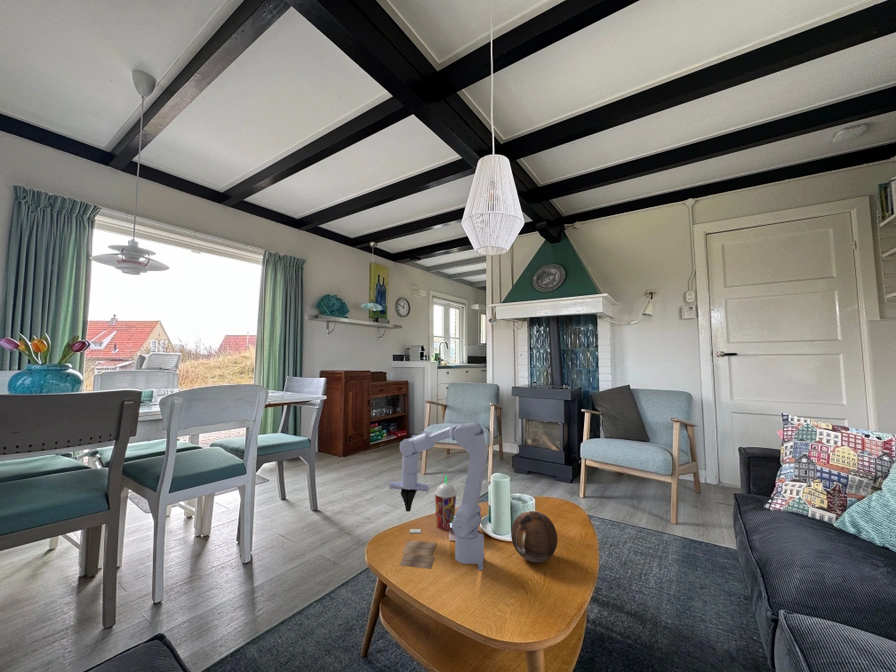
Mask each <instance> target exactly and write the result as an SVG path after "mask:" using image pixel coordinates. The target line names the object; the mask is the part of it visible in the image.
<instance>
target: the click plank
mask: <svg viewBox="0 0 896 672" xmlns="http://www.w3.org/2000/svg"><path fill="white" fill-rule="evenodd" d="M436 545H437V542H432V541H431V542H430V541H419V540H410V539H409V540H407V541H406V544H405V546H404V548H403V550H402V552H401V553H402V554H413V555H423V556H434V555H433V554H434V551H435V548H436Z"/></svg>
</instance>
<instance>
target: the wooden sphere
mask: <svg viewBox="0 0 896 672" xmlns="http://www.w3.org/2000/svg"><path fill="white" fill-rule="evenodd" d="M510 529H511V531H510V535H511V536H510V537H511V538H510V539H511V542H512V544H513V547H514V549H515V550H516V552H517V554H518V555H520V556H521V558H523V559H525V560H526V561H528V562H531V563H542V562H545V561H547V560H549V559H550V558H551V557H552V556H553V555H554V553H555V552H556V549H557V546H558V533H557V530H556V527H555V525H554V523H553V521H552V520H551V519H550V518H549V516H547V515H545V514H544V513H542V512H540V511H537V510H526V511H524V512H521V513H520V514H518V516H516V518H515V519H514V521H513V522H512V526H511V528H510Z"/></svg>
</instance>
